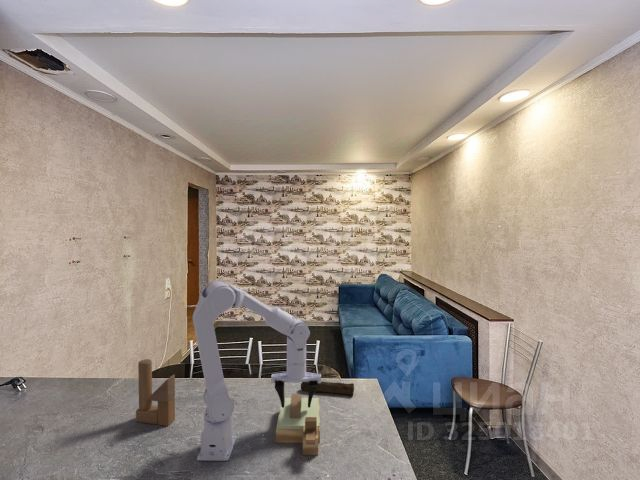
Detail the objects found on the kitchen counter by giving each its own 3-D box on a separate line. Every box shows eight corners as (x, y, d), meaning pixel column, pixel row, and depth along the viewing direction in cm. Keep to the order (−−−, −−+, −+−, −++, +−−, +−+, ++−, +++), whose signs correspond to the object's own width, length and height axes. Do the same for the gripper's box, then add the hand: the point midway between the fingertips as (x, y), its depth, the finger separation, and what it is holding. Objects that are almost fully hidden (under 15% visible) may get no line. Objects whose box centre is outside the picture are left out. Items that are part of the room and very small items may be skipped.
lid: (319, 429, 95) (319, 415, 95) (276, 429, 95) (276, 415, 95) (318, 400, 111) (318, 388, 110) (281, 400, 110) (282, 388, 110)
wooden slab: (320, 455, 90) (320, 438, 90) (273, 454, 90) (273, 438, 90) (319, 410, 111) (319, 397, 111) (281, 410, 111) (281, 396, 111)
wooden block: (168, 426, 101) (167, 366, 101) (135, 422, 104) (134, 363, 103) (175, 419, 105) (175, 361, 104) (144, 415, 107) (143, 358, 106)
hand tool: (354, 392, 124) (354, 379, 124) (353, 398, 120) (353, 384, 120) (302, 387, 128) (302, 374, 127) (300, 392, 124) (300, 379, 123)
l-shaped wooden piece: (316, 444, 87) (316, 430, 87) (304, 444, 87) (304, 430, 87) (316, 430, 93) (316, 417, 93) (305, 430, 93) (305, 417, 93)
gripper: (320, 355, 106) (320, 398, 107) (273, 355, 106) (273, 398, 107) (321, 364, 99) (320, 411, 100) (270, 364, 99) (270, 411, 100)
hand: (296, 405), depth 103 cm, fingers open, 7 cm apart
